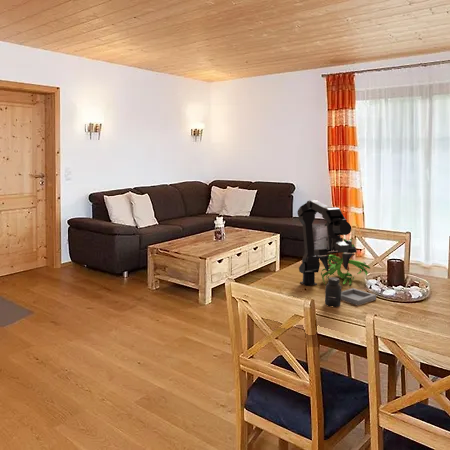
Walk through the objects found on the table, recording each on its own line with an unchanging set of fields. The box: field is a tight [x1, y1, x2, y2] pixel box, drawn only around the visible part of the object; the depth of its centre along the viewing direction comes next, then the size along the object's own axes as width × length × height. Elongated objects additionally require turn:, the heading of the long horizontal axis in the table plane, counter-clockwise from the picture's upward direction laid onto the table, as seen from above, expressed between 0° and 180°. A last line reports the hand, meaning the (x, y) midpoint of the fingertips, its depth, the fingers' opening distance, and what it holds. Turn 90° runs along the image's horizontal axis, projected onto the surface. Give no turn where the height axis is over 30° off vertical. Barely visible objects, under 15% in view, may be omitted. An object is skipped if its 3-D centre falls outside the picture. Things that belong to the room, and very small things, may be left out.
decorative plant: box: [320, 238, 371, 286], centre depth 233 cm, size 26×25×30 cm
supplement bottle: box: [324, 276, 342, 308], centre depth 197 cm, size 7×7×12 cm
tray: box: [341, 287, 377, 306], centre depth 206 cm, size 13×13×2 cm
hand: (336, 270), depth 202 cm, fingers open, 9 cm apart
